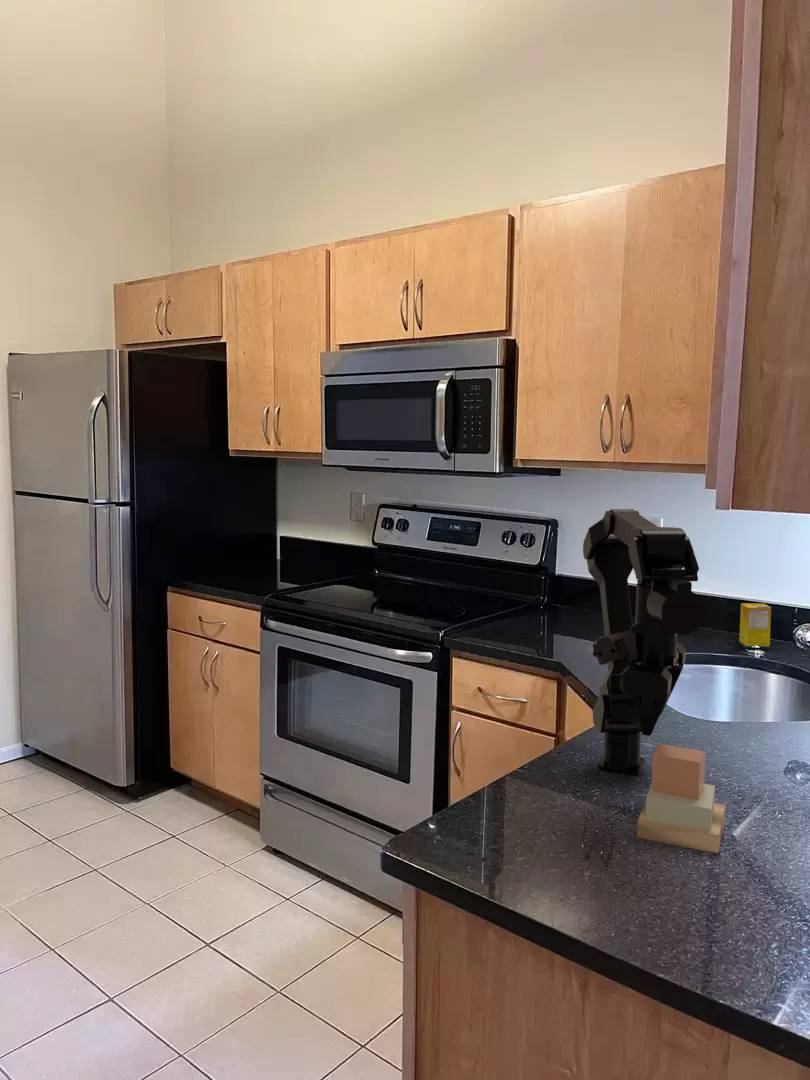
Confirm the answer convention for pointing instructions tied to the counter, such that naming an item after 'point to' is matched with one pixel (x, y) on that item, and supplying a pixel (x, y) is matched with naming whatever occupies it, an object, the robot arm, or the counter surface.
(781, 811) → the counter surface
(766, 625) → the supplement box
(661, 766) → the terracotta brick
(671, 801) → the tower top
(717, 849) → the tower base
